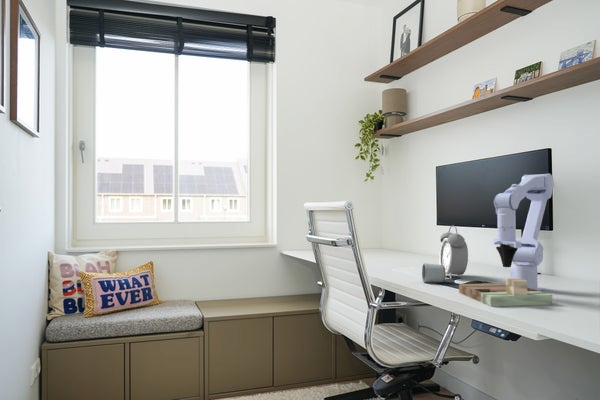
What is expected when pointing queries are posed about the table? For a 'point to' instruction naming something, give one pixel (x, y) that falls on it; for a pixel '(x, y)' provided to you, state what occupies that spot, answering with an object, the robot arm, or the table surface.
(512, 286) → the birch block
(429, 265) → the ceramic mug
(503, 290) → the trap deck
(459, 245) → the alarm clock
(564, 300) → the table surface
